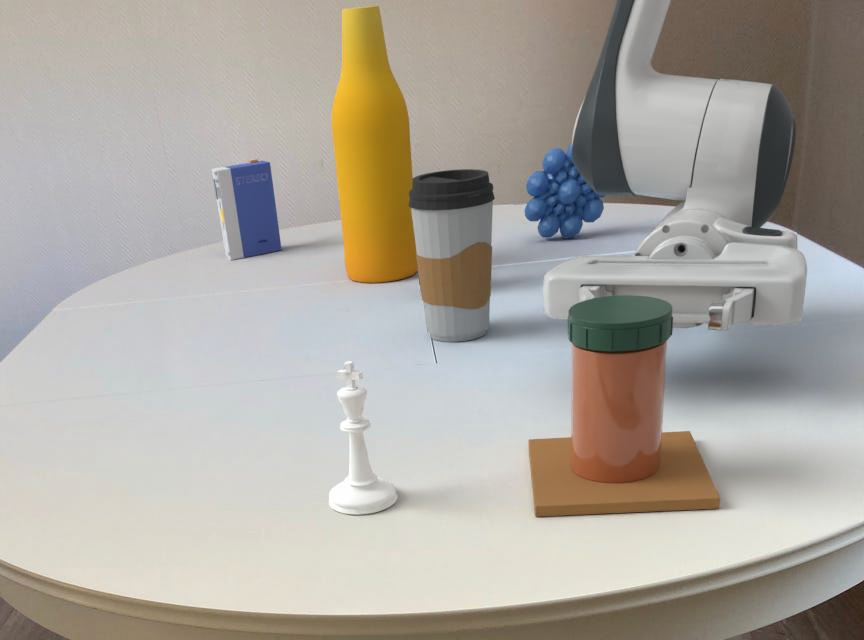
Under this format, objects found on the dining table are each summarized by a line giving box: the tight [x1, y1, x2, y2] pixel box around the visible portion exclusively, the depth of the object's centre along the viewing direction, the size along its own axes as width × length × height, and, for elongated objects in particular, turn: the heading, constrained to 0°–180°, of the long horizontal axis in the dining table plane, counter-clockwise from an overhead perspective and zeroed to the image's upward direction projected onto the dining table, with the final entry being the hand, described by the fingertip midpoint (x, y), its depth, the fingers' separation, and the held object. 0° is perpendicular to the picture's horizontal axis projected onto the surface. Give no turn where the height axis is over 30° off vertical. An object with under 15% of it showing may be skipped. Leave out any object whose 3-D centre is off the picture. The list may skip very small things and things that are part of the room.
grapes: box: [524, 143, 607, 239], centre depth 139 cm, size 12×7×12 cm, turn 88°
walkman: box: [211, 158, 283, 261], centre depth 147 cm, size 8×3×12 cm, turn 117°
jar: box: [570, 340, 668, 483], centre depth 72 cm, size 6×6×10 cm
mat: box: [527, 430, 721, 518], centre depth 75 cm, size 12×12×1 cm
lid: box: [567, 295, 673, 351], centre depth 69 cm, size 7×7×2 cm
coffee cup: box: [409, 168, 496, 343], centre depth 104 cm, size 8×8×15 cm
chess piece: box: [328, 360, 399, 516], centre depth 73 cm, size 5×5×10 cm
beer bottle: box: [330, 5, 418, 284], centre depth 126 cm, size 9×9×29 cm
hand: (653, 317), depth 79 cm, fingers open, 8 cm apart
